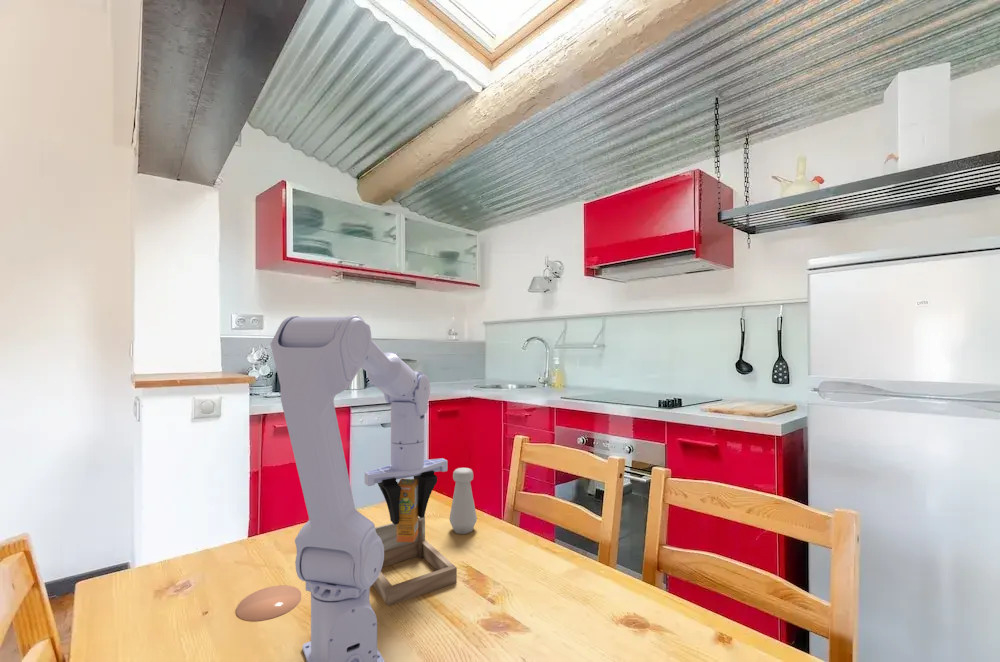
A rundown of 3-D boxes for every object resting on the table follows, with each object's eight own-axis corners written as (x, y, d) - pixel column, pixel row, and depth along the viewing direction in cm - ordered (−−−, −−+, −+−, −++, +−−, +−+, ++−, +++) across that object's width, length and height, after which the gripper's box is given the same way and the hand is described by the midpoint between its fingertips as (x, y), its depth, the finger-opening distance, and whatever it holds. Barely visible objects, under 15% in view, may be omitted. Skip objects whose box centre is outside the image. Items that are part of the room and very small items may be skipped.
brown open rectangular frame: (456, 582, 77) (456, 540, 77) (388, 606, 70) (388, 561, 70) (423, 551, 87) (423, 515, 87) (361, 570, 81) (361, 530, 81)
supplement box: (395, 543, 77) (395, 484, 77) (400, 534, 80) (400, 477, 80) (414, 543, 77) (414, 484, 77) (419, 534, 80) (419, 477, 80)
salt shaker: (472, 537, 93) (472, 474, 93) (446, 534, 95) (445, 472, 95) (479, 525, 99) (479, 466, 99) (454, 523, 100) (454, 464, 100)
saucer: (306, 609, 69) (306, 605, 69) (238, 631, 64) (238, 627, 64) (295, 582, 77) (295, 579, 77) (233, 600, 72) (233, 597, 72)
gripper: (435, 431, 86) (435, 502, 86) (358, 441, 78) (358, 520, 78) (453, 438, 80) (453, 515, 80) (372, 450, 72) (372, 535, 72)
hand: (407, 518), depth 79 cm, fingers closed on supplement box, 4 cm apart
